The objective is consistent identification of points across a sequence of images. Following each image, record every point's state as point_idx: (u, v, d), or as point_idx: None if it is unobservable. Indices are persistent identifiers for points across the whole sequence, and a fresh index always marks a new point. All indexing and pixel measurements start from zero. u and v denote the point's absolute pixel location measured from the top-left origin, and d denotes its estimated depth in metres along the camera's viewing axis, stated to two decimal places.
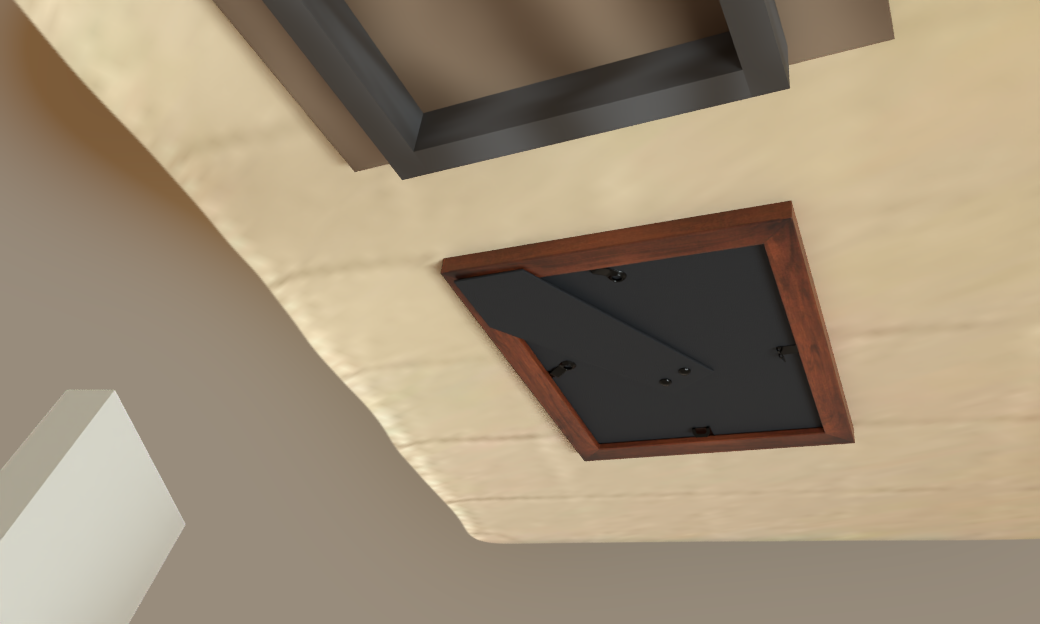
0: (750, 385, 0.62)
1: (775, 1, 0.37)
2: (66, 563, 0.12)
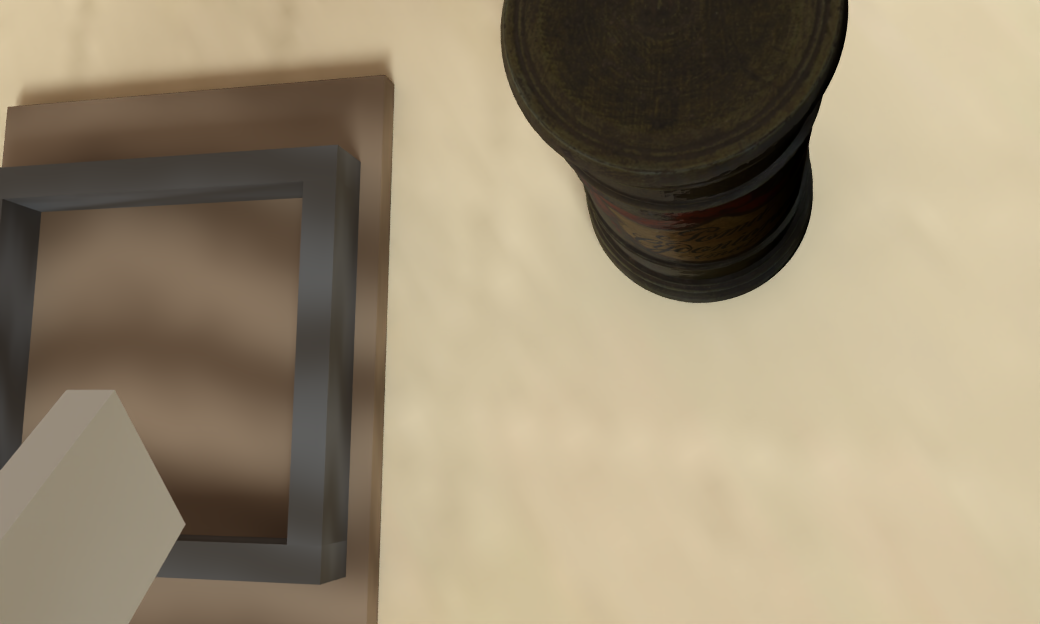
0: None
1: None
2: (66, 563, 0.12)
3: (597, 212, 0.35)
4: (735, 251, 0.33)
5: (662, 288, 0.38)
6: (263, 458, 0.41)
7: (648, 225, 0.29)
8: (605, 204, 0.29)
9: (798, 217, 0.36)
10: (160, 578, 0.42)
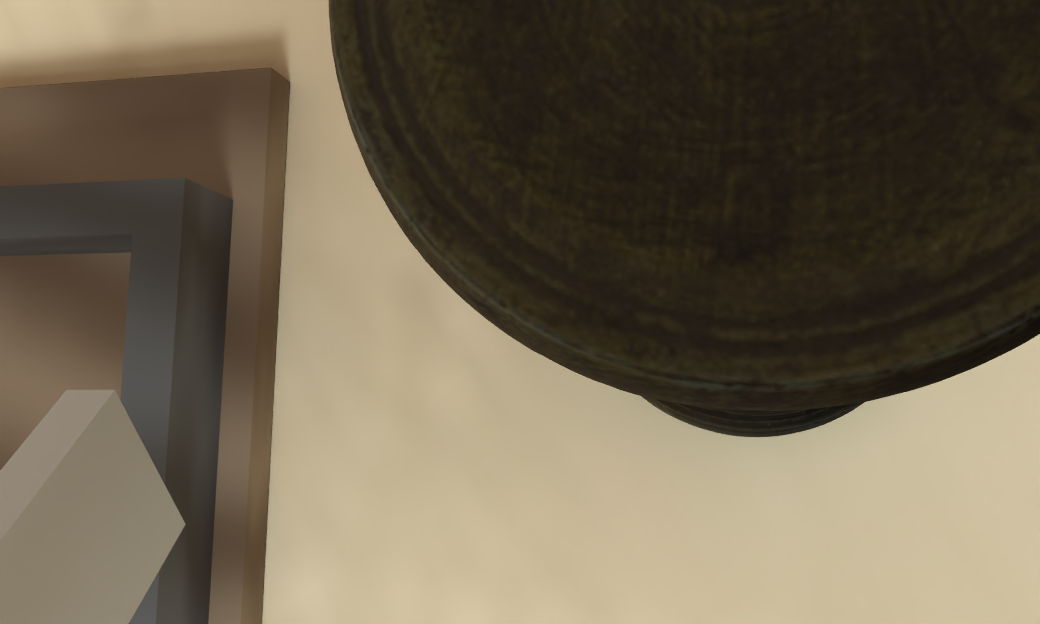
0: None
1: None
2: (66, 563, 0.12)
3: None
4: None
5: None
6: None
7: None
8: None
9: None
10: None
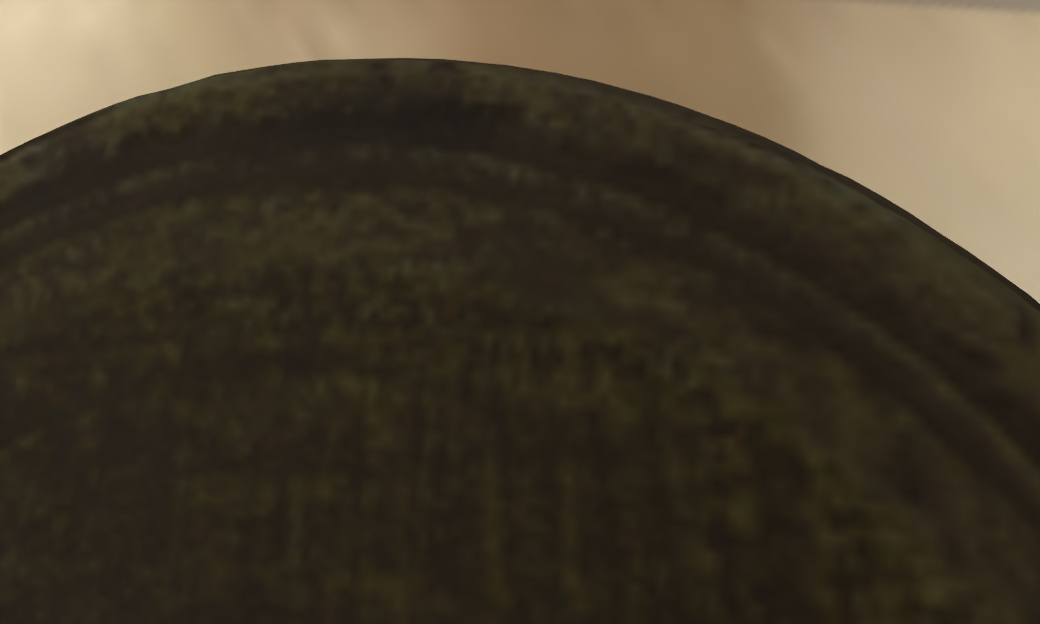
0: None
1: None
2: None
3: None
4: None
5: None
6: None
7: None
8: None
9: None
10: None
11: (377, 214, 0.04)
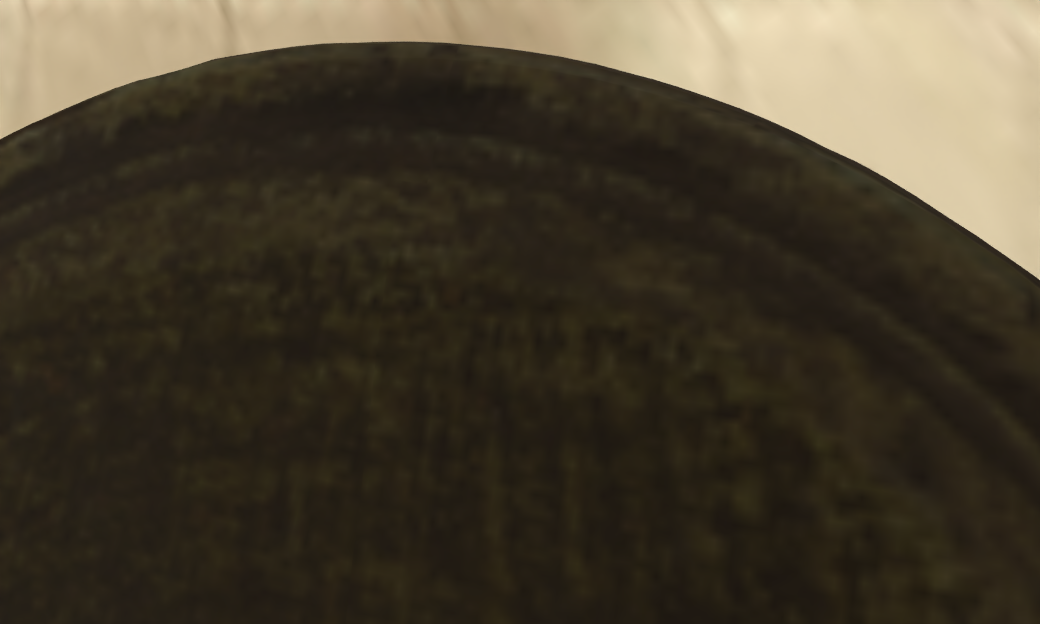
0: None
1: None
2: None
3: None
4: None
5: None
6: None
7: None
8: None
9: None
10: None
11: (379, 197, 0.04)
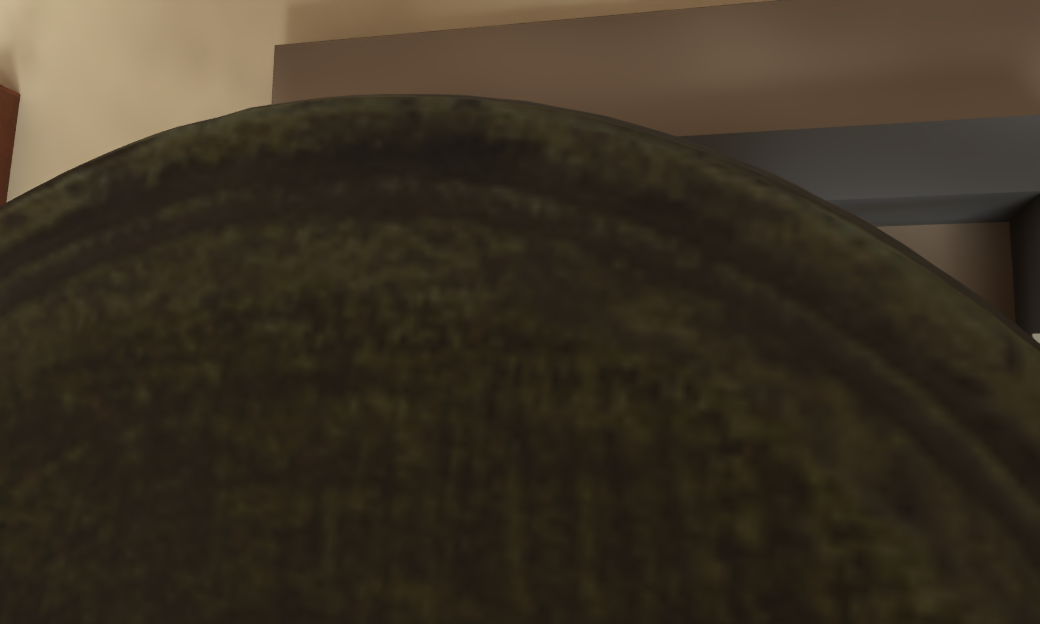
0: None
1: None
2: None
3: None
4: None
5: None
6: None
7: None
8: None
9: None
10: None
11: (406, 243, 0.04)
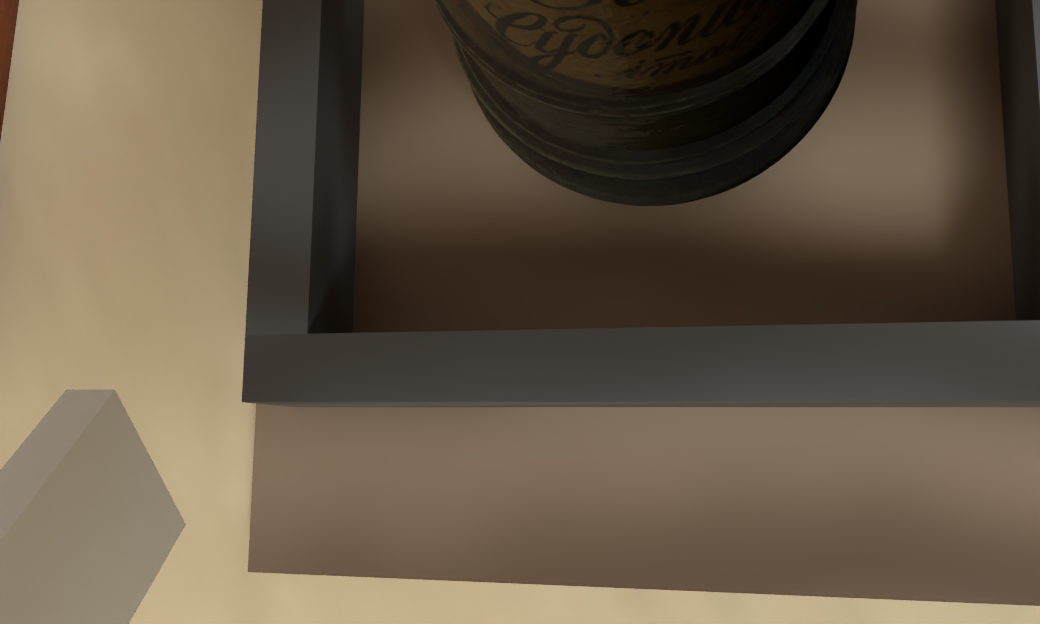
0: None
1: (381, 408, 0.23)
2: (66, 563, 0.12)
3: (442, 7, 0.18)
4: (710, 61, 0.16)
5: (583, 178, 0.21)
6: (881, 187, 0.21)
7: None
8: None
9: (834, 31, 0.19)
10: (671, 425, 0.21)
11: None
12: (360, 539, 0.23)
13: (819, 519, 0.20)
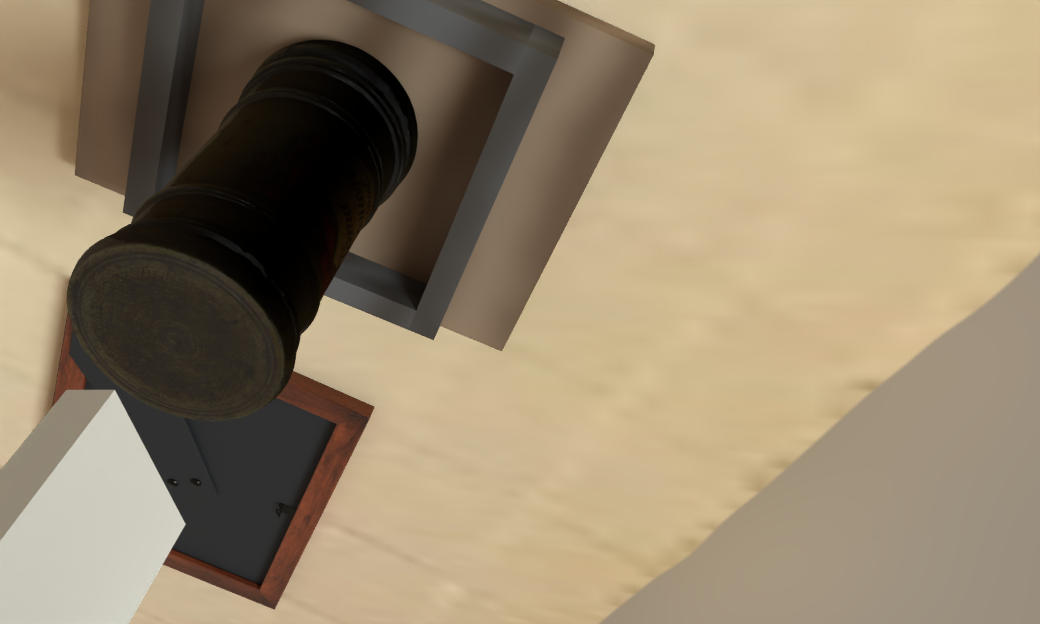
0: (235, 522, 0.71)
1: None
2: (66, 563, 0.12)
3: None
4: (371, 191, 0.43)
5: None
6: (440, 70, 0.46)
7: None
8: None
9: (368, 95, 0.44)
10: (506, 190, 0.49)
11: (85, 296, 0.34)
12: (505, 310, 0.54)
13: (565, 157, 0.47)
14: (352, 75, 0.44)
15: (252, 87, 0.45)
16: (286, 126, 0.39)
